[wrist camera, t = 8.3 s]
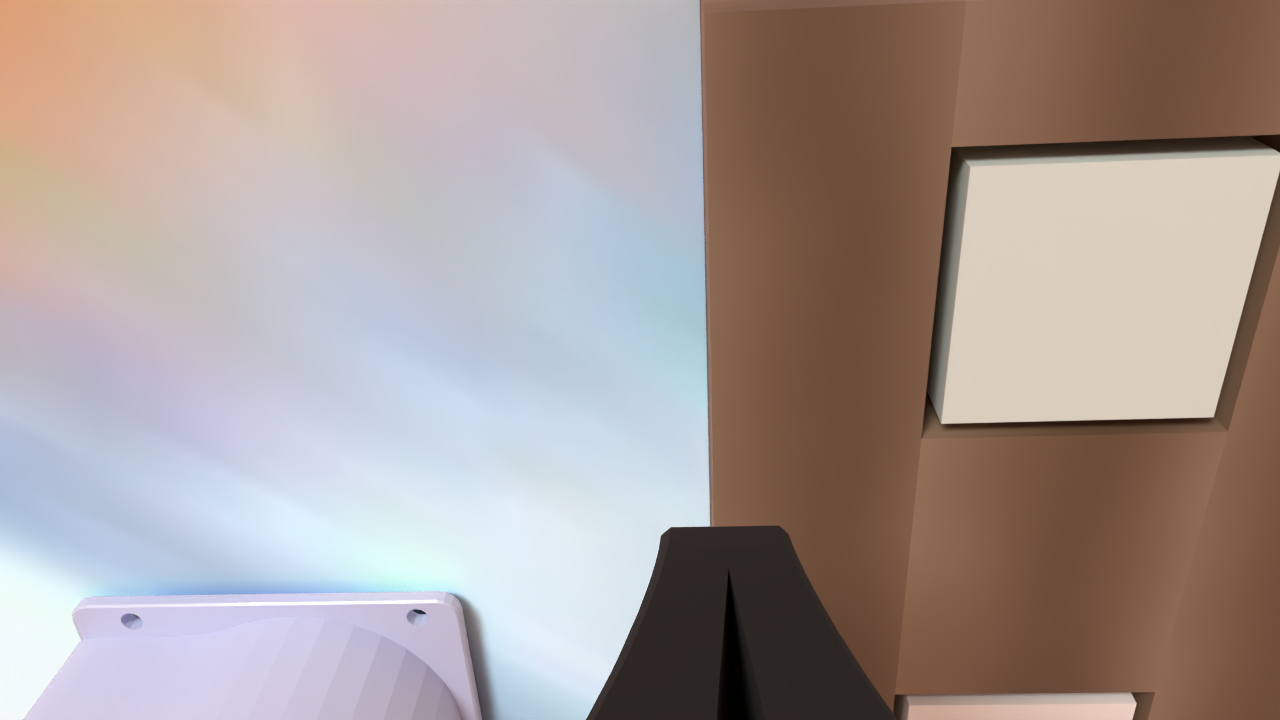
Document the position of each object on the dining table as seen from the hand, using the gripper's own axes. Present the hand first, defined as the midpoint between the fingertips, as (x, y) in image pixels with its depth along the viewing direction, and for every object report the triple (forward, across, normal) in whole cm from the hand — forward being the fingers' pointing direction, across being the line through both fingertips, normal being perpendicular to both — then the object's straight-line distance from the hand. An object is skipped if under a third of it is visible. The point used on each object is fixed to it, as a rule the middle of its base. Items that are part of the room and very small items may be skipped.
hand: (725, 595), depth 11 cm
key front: (+8, -6, -1) cm, 10 cm away
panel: (+9, -6, +4) cm, 12 cm away
